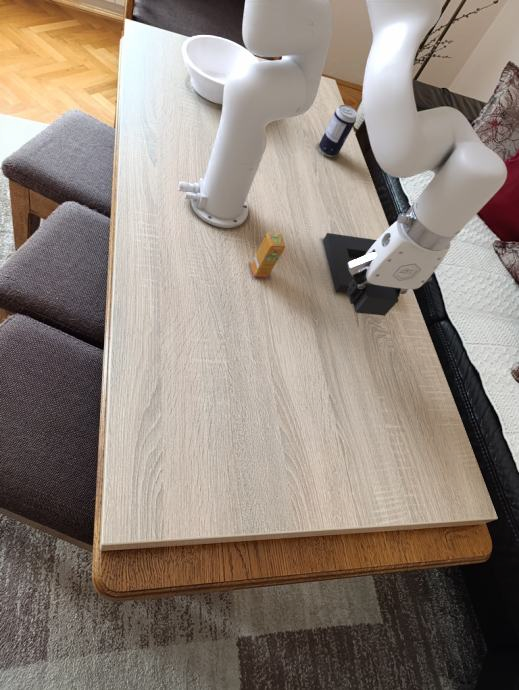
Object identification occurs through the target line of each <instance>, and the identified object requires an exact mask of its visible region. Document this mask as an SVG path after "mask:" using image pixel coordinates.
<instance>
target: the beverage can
mask: <svg viewBox="0 0 519 690" xmlns="http://www.w3.org/2000/svg"><path fill="white" fill-rule="evenodd" d="M357 116H358V113H357V111H356V110H355V108H353V107H351V106H350V105H348V104H341V105H339V106H338V107H337V108H335V111H334V113H333V115H332V117H331V119H330V121H329V123H328V124H327V127H326V129H325V131H324V133H323V135H322V137H321V140H320V141H319V144H318V146H319V149H320V152H321V153H322V154H323V155H324V156H327V157H328V158H329V157H331V158H332V157H335V156H338V155H339V153H340V152H341V150H342V148H343V146H344V144H345V143H346V140H347V138H348V137H349V135H350V133H351V131H352V129H353V127H354V125H355V124H356V122H357Z"/></svg>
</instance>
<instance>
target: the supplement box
mask: <svg viewBox="0 0 519 690" xmlns="http://www.w3.org/2000/svg"><path fill="white" fill-rule="evenodd" d="M285 248H286V243H285V240H284V237H283V233H270V232H269V233H268V232H267V233H266V234H265V236H264V238H263V240H262V241H261V244H260V246H259V248H258V249H257V251H256V253H255V255H254V257H253V259H252V260H251V261H252V262H251V263H250V267H251V271H252V274H253V278H268V277H269V276H270V274H271V272H272V271H273V269H274V268H275V266H276V264H277V262H278V260H279V259H280V257H281V255H282V254H283V252H284V250H285Z"/></svg>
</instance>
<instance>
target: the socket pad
mask: <svg viewBox="0 0 519 690" xmlns="http://www.w3.org/2000/svg"><path fill="white" fill-rule="evenodd" d="M376 240H377V239H372V238H366V237H357V236H350V235H344V234H337V233H332V232H331V233H330V232H327V233H326V234H325V235H324V237H323V239H322V244H323V248H324V252H325V255H326V259H327V264H328V267H329V270H330V275H331V279H332V282H333V288H334V292H335V293H339V294H348V293H347V290H348V288H349V284H350V283H351V281H352V280H353V279H354V278H353V276H352V275H351V273H350V272H349V269H348V265H347V263H348V262H350V261H351V258H355V259H358V258H360V257H363V256H365V254H366V253H367V252H368V250H369V249H370V248H371V246H372V245H373V244H374V243H375V242H376Z"/></svg>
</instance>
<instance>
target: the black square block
mask: <svg viewBox="0 0 519 690" xmlns="http://www.w3.org/2000/svg"><path fill="white" fill-rule="evenodd" d="M363 277H364V279H366V275H364V276H363ZM353 281H354V279H353V280H352V281H351V283H350V284H349V286H350V285H351V284H352V283H353ZM397 303H399V297H398V298H397V294H396V291H395V288H394V287H387V286H380V285H374V284H370V285H368V286H367V287H365V292H364V293H363V294H362V296H361V297H360V298H359V299H358V301H357V302H356V303H355V304H352V306H353V310H354V313H356V314H364V315H373V316H380V317H381V316H382V317H385V316H386V315H387V314H388V313H389V312H390V311H391V310H392V309H393V307H395V306H396V304H397Z"/></svg>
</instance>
